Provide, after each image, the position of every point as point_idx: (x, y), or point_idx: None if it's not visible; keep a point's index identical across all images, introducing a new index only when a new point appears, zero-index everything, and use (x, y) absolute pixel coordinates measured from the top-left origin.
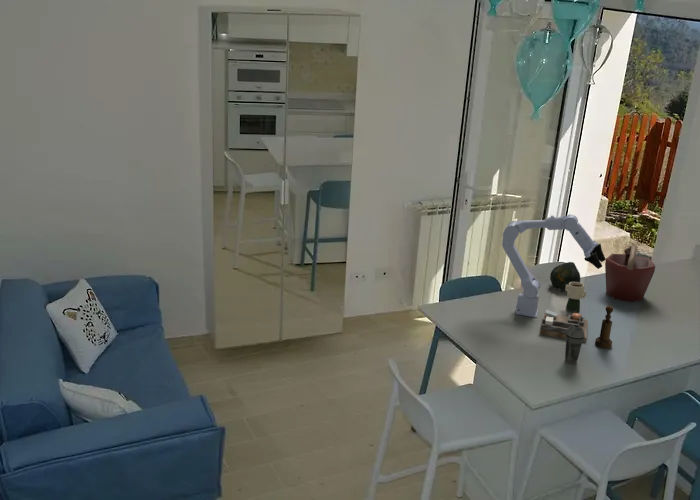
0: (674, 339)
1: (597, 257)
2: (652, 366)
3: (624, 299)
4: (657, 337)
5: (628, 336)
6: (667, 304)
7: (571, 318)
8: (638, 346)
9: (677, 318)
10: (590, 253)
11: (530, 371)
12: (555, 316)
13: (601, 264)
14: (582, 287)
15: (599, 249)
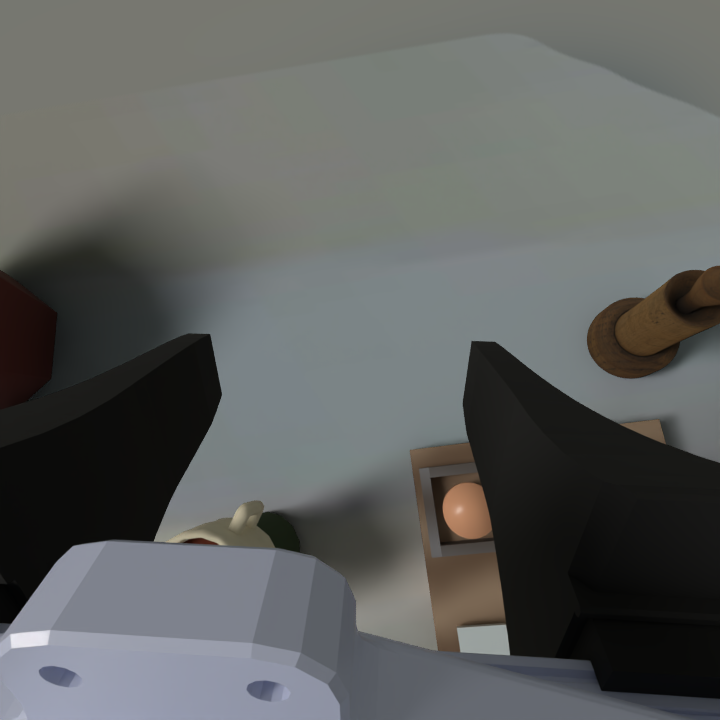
0: (366, 114)
1: (568, 425)
2: (707, 131)
3: (48, 340)
4: (384, 167)
5: (444, 263)
6: (26, 192)
7: (439, 534)
8: (529, 211)
9: (151, 140)
10: (675, 683)
11: None
12: (506, 630)
13: (488, 350)
14: (225, 539)
15: (73, 453)
